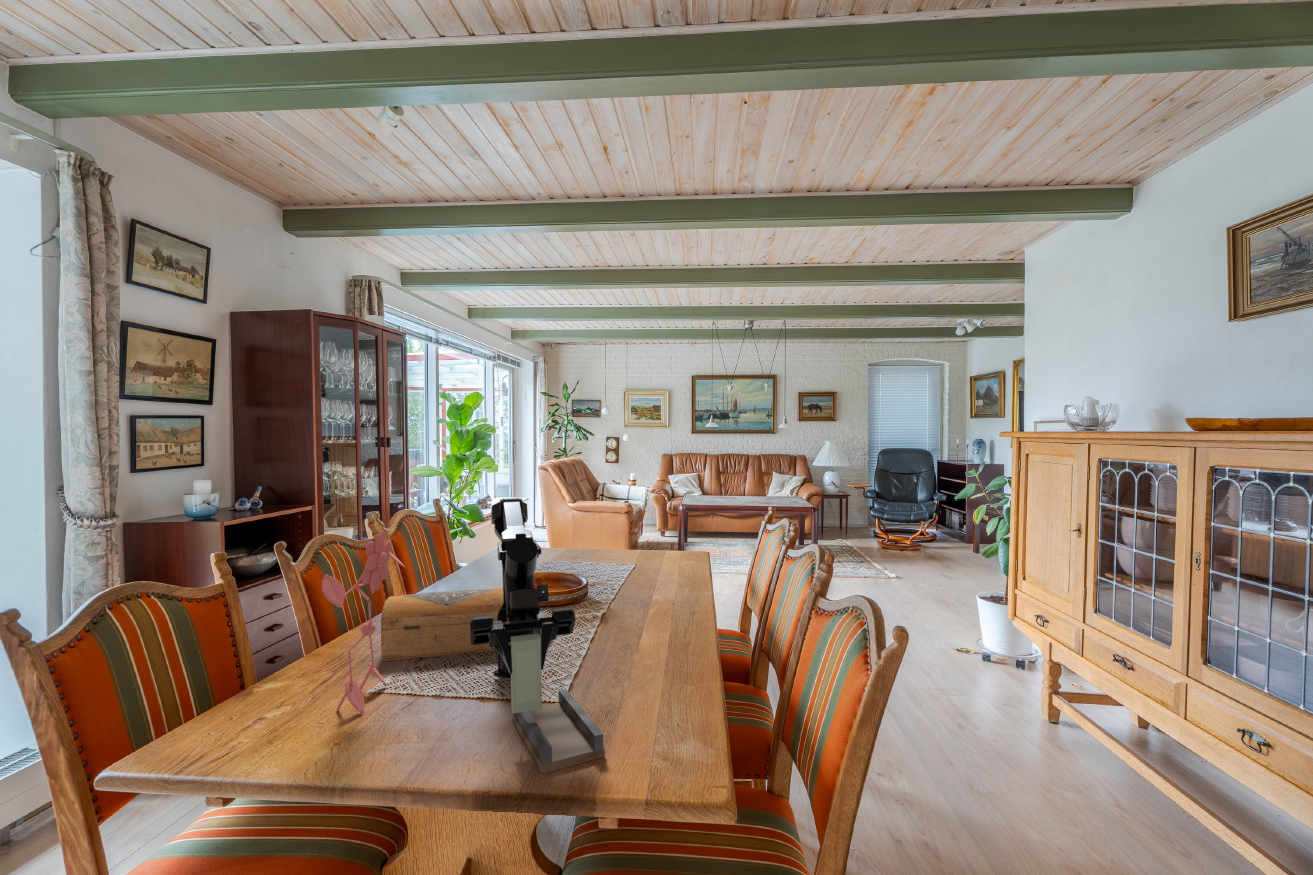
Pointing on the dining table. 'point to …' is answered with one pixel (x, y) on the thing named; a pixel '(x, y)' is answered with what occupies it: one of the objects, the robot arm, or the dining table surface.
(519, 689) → the sage green panelled box
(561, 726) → the door track
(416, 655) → the wooden box
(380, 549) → the pink leafy branch
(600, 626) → the dining table surface
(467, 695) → the dining table surface
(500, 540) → the robot arm
